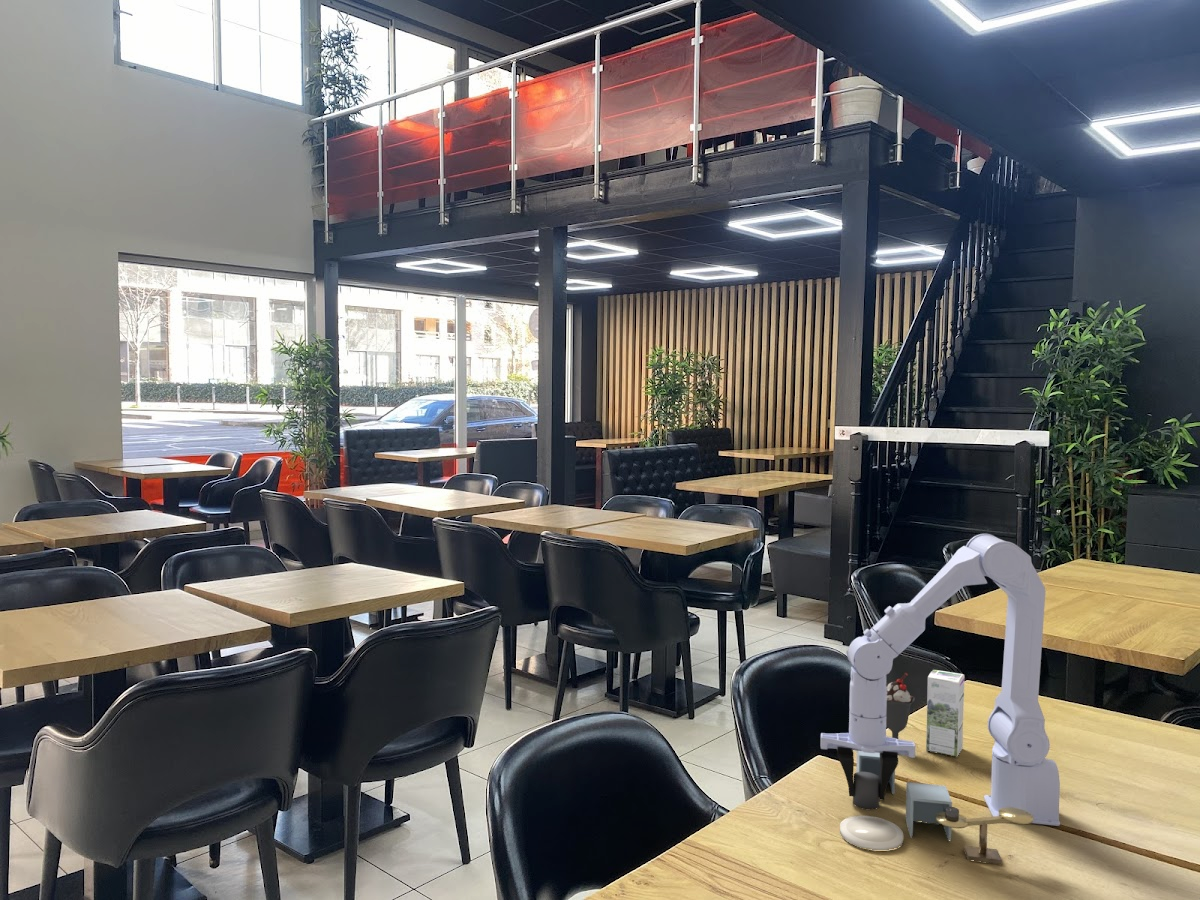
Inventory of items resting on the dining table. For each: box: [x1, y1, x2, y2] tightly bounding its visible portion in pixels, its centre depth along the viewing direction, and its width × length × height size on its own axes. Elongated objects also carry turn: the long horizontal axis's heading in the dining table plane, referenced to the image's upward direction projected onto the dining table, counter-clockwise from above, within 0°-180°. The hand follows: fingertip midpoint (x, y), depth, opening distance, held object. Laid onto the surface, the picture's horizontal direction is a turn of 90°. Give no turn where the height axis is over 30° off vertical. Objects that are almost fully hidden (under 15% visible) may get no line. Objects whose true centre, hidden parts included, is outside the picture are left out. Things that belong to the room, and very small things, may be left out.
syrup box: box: [925, 669, 965, 757], centre depth 160 cm, size 6×6×14 cm
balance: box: [936, 806, 1033, 866], centre depth 121 cm, size 13×4×7 cm, turn 77°
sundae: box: [886, 672, 916, 739], centre depth 161 cm, size 7×7×15 cm
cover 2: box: [905, 781, 953, 842], centre depth 129 cm, size 6×6×6 cm
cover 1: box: [855, 751, 896, 795], centre depth 145 cm, size 6×6×6 cm
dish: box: [839, 815, 904, 850], centre depth 127 cm, size 9×9×1 cm
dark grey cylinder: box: [852, 772, 880, 811], centre depth 138 cm, size 4×4×4 cm
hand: (866, 795), depth 138 cm, fingers closed on dark grey cylinder, 4 cm apart
